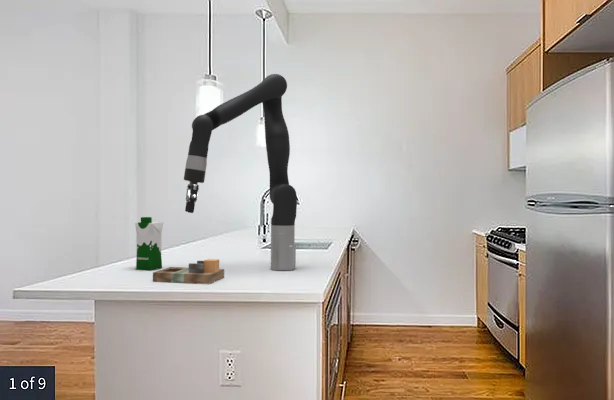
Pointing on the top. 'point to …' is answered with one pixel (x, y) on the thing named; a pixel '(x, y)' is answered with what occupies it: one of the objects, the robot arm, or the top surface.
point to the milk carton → (148, 244)
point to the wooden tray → (187, 274)
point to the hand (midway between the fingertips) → (189, 212)
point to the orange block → (211, 265)
